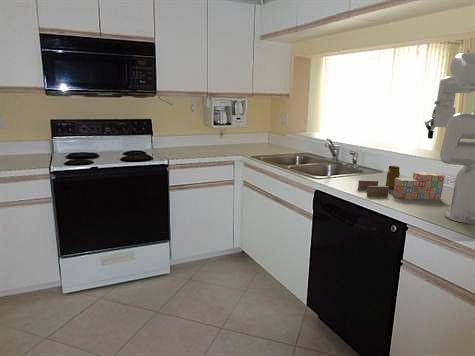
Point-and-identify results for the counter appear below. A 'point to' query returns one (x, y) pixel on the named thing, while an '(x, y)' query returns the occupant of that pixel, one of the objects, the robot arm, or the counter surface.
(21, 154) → the counter surface
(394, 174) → the condiment
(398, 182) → the stack of blocks
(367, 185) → the brown angular block
